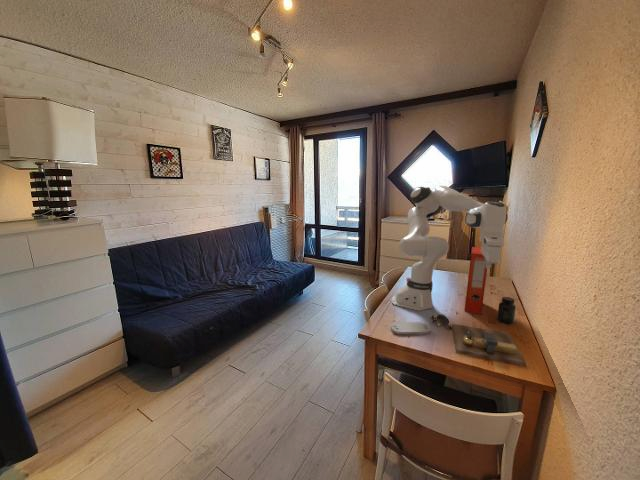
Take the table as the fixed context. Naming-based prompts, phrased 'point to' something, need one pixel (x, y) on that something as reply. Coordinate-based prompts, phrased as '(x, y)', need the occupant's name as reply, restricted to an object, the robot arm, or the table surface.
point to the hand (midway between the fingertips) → (487, 267)
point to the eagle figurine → (441, 320)
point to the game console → (410, 328)
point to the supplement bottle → (506, 311)
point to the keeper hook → (490, 342)
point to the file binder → (476, 282)
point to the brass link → (480, 343)
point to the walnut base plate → (461, 348)
